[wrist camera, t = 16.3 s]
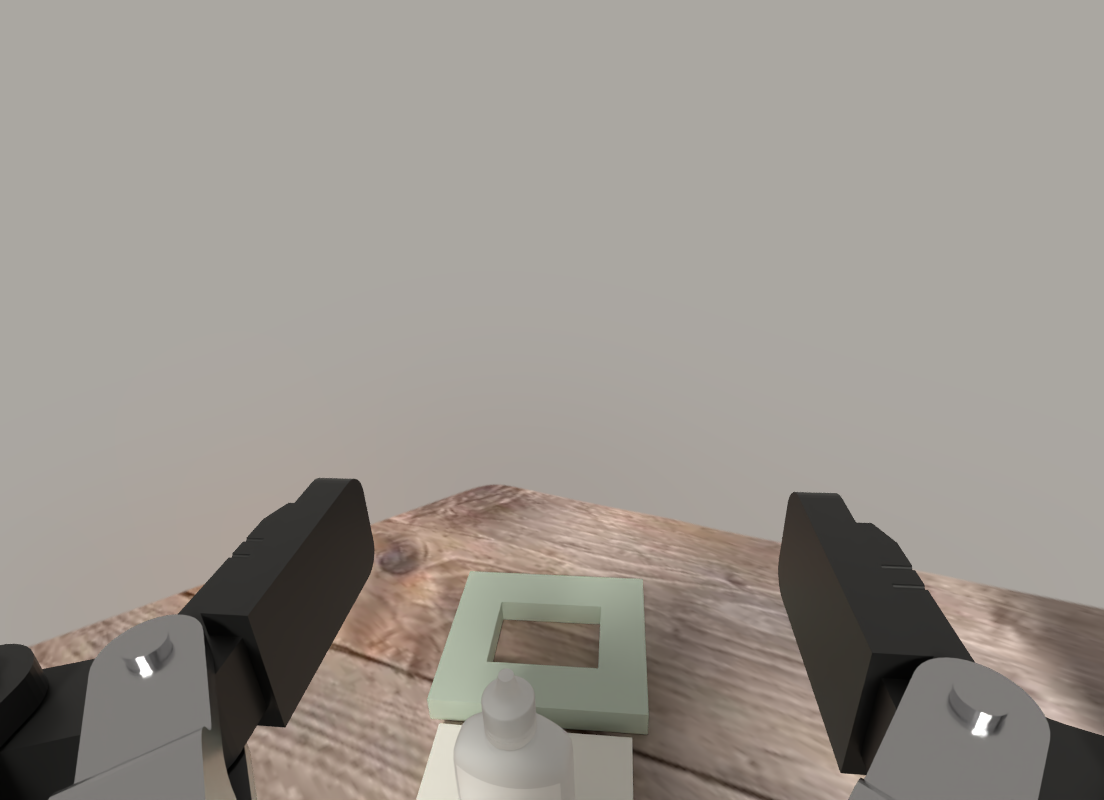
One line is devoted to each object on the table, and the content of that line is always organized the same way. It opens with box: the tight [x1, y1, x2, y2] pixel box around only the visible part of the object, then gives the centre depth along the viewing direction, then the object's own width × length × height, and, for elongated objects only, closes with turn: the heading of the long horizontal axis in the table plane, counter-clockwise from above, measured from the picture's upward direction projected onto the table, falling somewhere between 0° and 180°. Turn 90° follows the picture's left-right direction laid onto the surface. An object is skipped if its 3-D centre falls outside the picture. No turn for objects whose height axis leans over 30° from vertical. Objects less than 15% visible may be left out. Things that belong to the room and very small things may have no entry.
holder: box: [427, 571, 649, 735], centre depth 43 cm, size 14×12×2 cm
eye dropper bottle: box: [454, 668, 575, 800], centre depth 29 cm, size 4×6×12 cm
